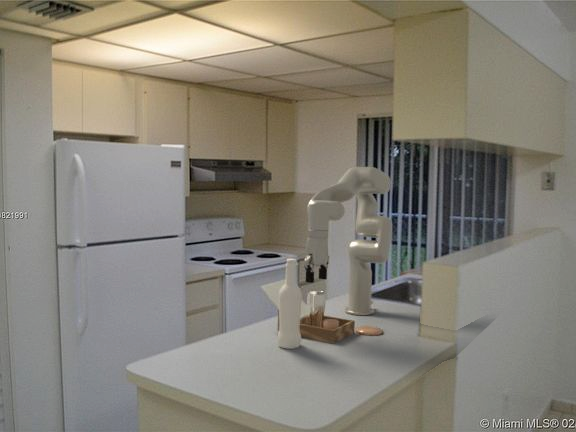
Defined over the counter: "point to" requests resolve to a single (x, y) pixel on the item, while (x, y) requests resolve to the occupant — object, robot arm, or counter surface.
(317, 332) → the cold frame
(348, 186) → the robot arm
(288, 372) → the counter surface
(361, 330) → the orange dish
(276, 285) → the propped lid
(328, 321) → the peach rounded cylinder
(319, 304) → the beer glass
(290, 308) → the bottle
